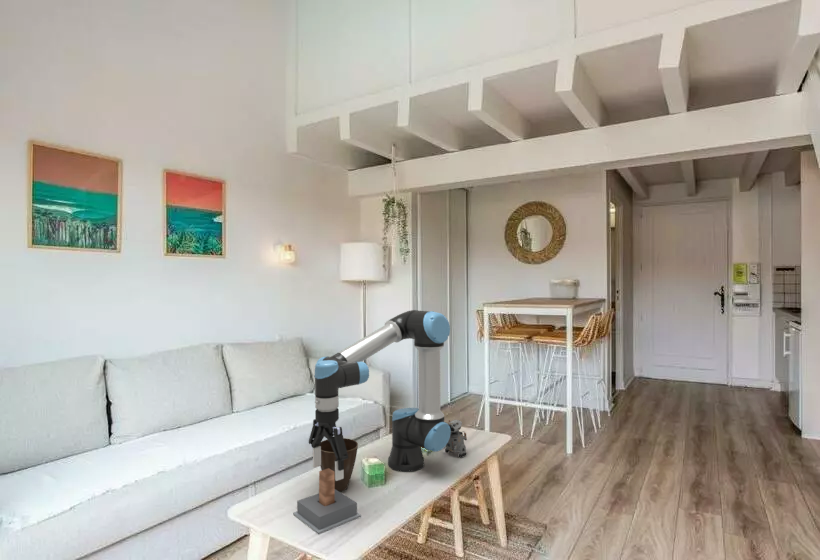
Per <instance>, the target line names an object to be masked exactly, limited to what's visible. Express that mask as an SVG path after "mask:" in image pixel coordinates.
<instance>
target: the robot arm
mask: <svg viewBox="0 0 820 560" xmlns="http://www.w3.org/2000/svg"><path fill="white" fill-rule="evenodd" d="M450 333H451V325H450V322H449V319H448V318H447V317H446V316H445V315H444V314H443V313H441V312H436V311H429V310H428V311H427V310H417V309H413V310H412V309H411V310H406V311H404V312H402V313H400V314H397V315H395V316H394V317H392V318H390V319H388V320H386V322H384V325H383V326H381V327H380V328H378V329H377V330H374V331H372V332H371V333H369V334H367V335H366V336H364V337H362V338H361V339H359V340H357V341H356V342H354V343H352V344H350V345H349V346H347V347H345V348H344V349H342V350H340V351H338V352H337V353H335V354H333V355H331V356H322V357H320V358H318V360H316V363H315V366H314V396H315V401H314V404H315V419H313V420H312V428H311V431H310V436H309V438H308V444H309V445H311V447H312V467H313V469H314V468H315V469H316V468H318V467H320V466H321V446H319V445H320V444H321V442H322V441H323V439H324V438H325V439H326V440H328V441H329V442H330V444H331V446H332V449H333V451H334V454H335V456H336V460H335V480H336V481H338V480H341V479H344V459H347V458H348V454H347V450H346V446H345V442H344V435H343V428H342V426H339V427H337V422H338V421H339V418H340V417H339V416H340V413H339V407H340V406H339V404H340V403H339V389H343V388H348V387H353V386H359V385H361V384H364V383H367V381H368V380H369V378H370V369H369V366H368V364H367V363H365V362H364V361H365V360H367V359H369V358H370V357H371V356H373V355H375V354H377V353H379V352H380V351H382V350H383V349H385V348H386V347H388V346H390V345H391V344H392V343H400V342H401V341H403V340H407V339H413V340H414V342H413V343H414V344H413V346H414V347H415V348H416V349H417V350H418V351H417V354H418V356H417V357H418V358H417V359H418V361H417V363H418V364H417V366H418V368H417V369H418V370H417V371H418V374H417V375H418V376H417V377H418V407H403V408H398V409H396V410H394V411H393V412H392V419H391V437H392V438H391V440H392V441H391V450H390V452H389V456H388V457H387V466H388V468H389V469H391V470H394V471H396V472H404V473H405V472H406V473H408V472H409V473H410V472H415V471H419V470H421V469H423V468H424V467H425V458H424V455H423V451H422V450H423V449H421V447H422V448H425V449H426V450H431V451H432V452H433V453H434V452H439V451H442V450H443V449H445V448H444V447H445V446H446V444H447V443H448V441H449V438H450V434H451V430H450V426H449V425H448V424H447V423H448V422H446V421H445V413H444V412H443V411H442V410H441V350H442V349H443V347H444V346H445V342H446V341H447V340H448V339H449V336H450Z"/></svg>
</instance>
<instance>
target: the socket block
mask: <svg viewBox="0 0 820 560" xmlns="http://www.w3.org/2000/svg"><path fill="white" fill-rule="evenodd" d="M296 503H297V504H296V506H297V507H296V509H297V510H296V511H294V512H292V516H294V517H296V519H298V520H299V521H300V522H302V523H303V524H304V525H305V526H307V527H308V528H310V529H311V530H312V531H313V532H315V533H316V534H317V535H320V534H323V533H326V532H328V531H330V530H332V529H335V528H337V527H340V526H342V525H344V524H348V523H350V522H352V521H354V520H356V518H357V519H359V518H361V517H362V514H360V513H359V512H358V503H357V501H355V500H353V499H352V498H350V497H348V496H347V495H345V494H344V493H342V491H340V492H339V491H337V490H336V489H335V503H333V504H330V505H327V506H323V505H322V504H320V503H319V492H317V493H316V494H313V495H309V496H307V497H304V498H301V499H299V500H297V501H296Z"/></svg>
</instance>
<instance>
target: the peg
mask: <svg viewBox="0 0 820 560" xmlns="http://www.w3.org/2000/svg"><path fill="white" fill-rule="evenodd" d="M318 481H319V483H318V486H319V487H318V493H319V503H320V504H322V505H323V506H327V505H330V504H333V503H335V472H334V471H333V470H331V469H329V468H328V469H325V470H322V471H321V470H319V471H318Z"/></svg>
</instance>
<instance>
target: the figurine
mask: <svg viewBox="0 0 820 560" xmlns="http://www.w3.org/2000/svg"><path fill="white" fill-rule="evenodd" d="M446 423H447V424H448V425H449V426H450V430H451V434H450V438H449V441H448V443H447V444H446V448H444V452H445V453H447V454H448V453H450V452H452V453H458V458H460V459H462V458H463V457H466V456H467V455H468V453H467V447H466V445H465V441H467V440H468V439H467V438H468V437H467V432H465V431H460V430H461V429H462V424H463V422H462V421H461V419H460V420H459V419H452V420H448V422H446Z"/></svg>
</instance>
